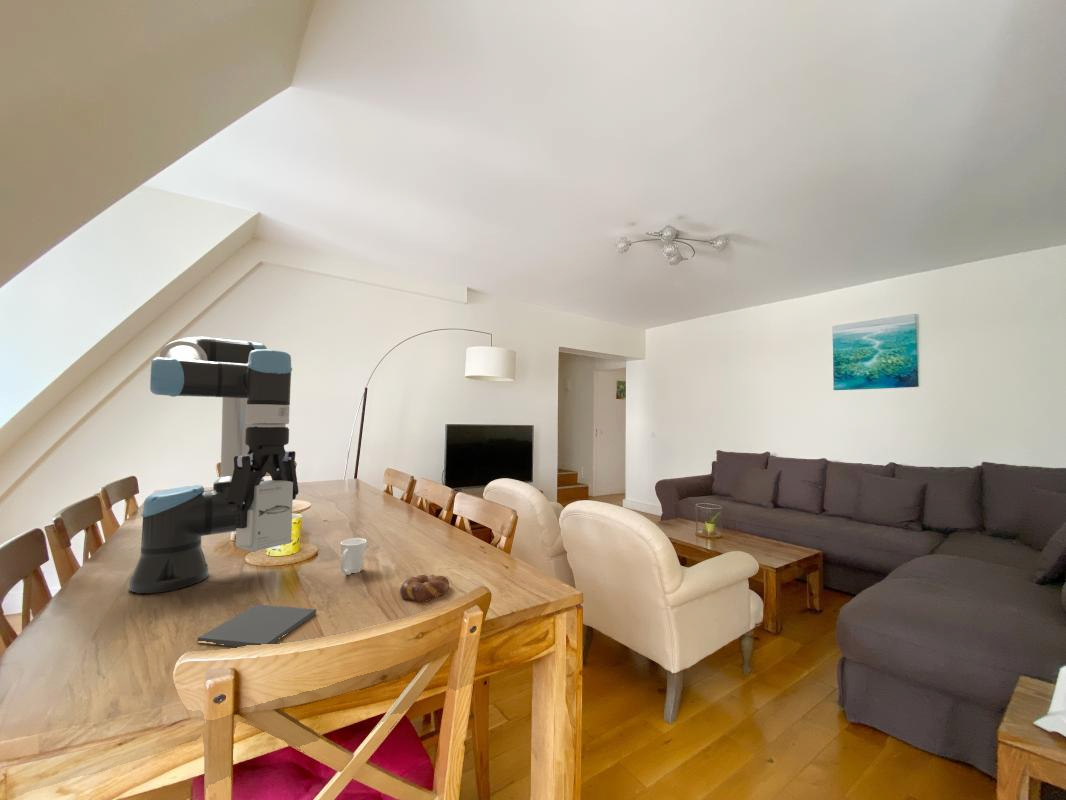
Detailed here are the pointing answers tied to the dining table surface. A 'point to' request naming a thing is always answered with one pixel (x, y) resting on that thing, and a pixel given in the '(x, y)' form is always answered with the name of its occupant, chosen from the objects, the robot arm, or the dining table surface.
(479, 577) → the dining table surface
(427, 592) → the pretzel
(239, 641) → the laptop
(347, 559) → the cup
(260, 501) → the supplement box
